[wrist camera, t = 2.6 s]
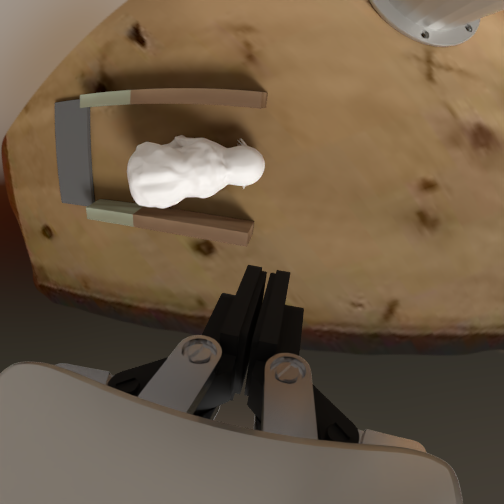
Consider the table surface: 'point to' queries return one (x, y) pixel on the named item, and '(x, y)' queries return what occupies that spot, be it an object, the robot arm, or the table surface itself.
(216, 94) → the parallel bars
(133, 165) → the white figurine
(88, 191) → the mat
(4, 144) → the table surface
